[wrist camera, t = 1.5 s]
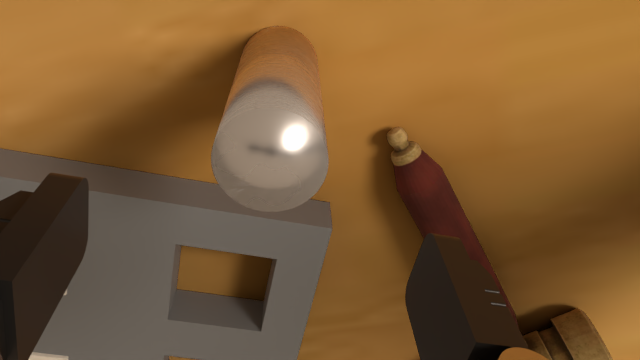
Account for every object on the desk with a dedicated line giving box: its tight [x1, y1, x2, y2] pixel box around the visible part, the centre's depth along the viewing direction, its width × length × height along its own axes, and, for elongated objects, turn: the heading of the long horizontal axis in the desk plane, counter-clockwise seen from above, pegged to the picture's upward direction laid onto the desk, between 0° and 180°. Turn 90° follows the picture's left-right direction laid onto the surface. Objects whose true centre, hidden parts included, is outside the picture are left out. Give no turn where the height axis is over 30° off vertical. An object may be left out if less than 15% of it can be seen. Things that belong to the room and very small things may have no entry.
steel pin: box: [211, 26, 328, 212], centre depth 21 cm, size 4×4×10 cm
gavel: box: [387, 127, 613, 360], centre depth 30 cm, size 21×5×10 cm
